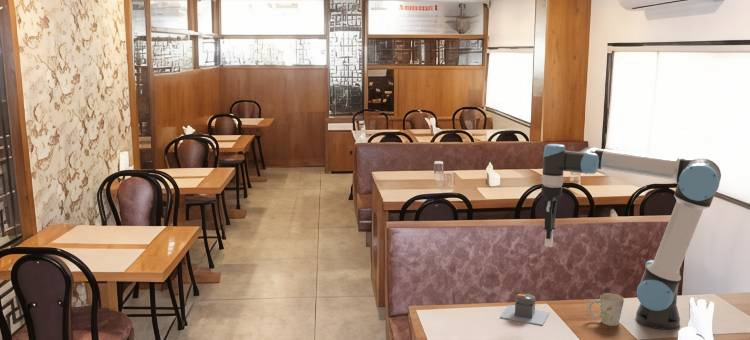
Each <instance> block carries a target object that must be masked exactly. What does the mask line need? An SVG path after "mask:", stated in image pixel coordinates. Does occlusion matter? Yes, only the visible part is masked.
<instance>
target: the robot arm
mask: <svg viewBox="0 0 750 340" xmlns="http://www.w3.org/2000/svg"><path fill="white" fill-rule="evenodd" d="M542 159H543V160H542V175H540V179H542V180H541V184H542V185H541V192H540V194H541V196H543V197H545V198H546V199H545V200H544V208H543V209H544V227H543V231H545V232H544V233H545V234H544V247H545V248H546V247H547V248H553V242H554V230H556V227H555V224H556V223H555V222H556V213H557V205H558V200H557V198H561V197H562V196H563V185H564V184H563V183H564V172H571V173H581V174H585V175H587V174H591V175H593V174H594V175H595V174H596V173H597V172H598V170H604V171H610V172H611V171H612V172H617V173H625V174H630V175H638V176H645V177H650V178H651V177H653V178H658V179H664V180H665V179H666V180H672V181H673V182H675V184H677V186H676V189H675V191H674V194H673V196H674V198H675V200H676V202H675V204H674V206H673V209H672V213H671V214H670V218H669V220H668V223H667V226H666V228H665V230H664V233H663V235H662V237H661V241H660V243H659V246H658V249H657V251H656V254H655V256H654V259H650V260H647V261H646V262H645V266H644V269H645V270H644V271H643V272H644V273H643V275H642V278H641V281H640V282H639V284H638V286H637V287H636V297H637V300H638V301H639V302H640V303H639V306H638V308H637V309H636V312H635V313H636V314H635V319H636V321H637V322H638V323H640V324H642V325H643V326H646V327H647V326H648V327H650V328H653V329H654V328H655V329H659V330H660V329H661V330H671V329H672V328H673V329H677V328H678V327H680V323H681V317H680V313H679V310H678V305H677V300H678V291H679V285H680V281H681V280H682V277H681V272H680V271H681V270H680V269H681V267H682V264H683V261H684V260H685V256H686V253H687V252H688V249H689V246H690V243H691V241H692V239H693V236H694V235H695V231H696V229H697V226H698V224H699V221H700V218H701V216H702V214H703V212H704V210H706V209H708V208H710V207H711V206H712V205H711V204H712V202H713V200H714V197H715V195H716V192H717V191H718V190H719V187H720V182H721V179H722V172H721V169H720V167H719V166H718V165H717V163H715V162H714V161H713V160H710V159H707V158H704V157H703V158H702V157H688V156H687V157H686V156H679V157H678V158H671V157H665V156H657V155H650V154H643V153H641V154H640V153H635V152H634V153H633V152H625V151H617V150H610V149H602V148H598V147H596V146H586V147H584V148H582V149H581V150H579V151H573V150H571V151H570V150H566V146H565V145H564V144H562V143H561V144H560V143H548V144H546V145H545V146H544V150H543V156H542ZM676 327H677V328H676ZM673 329H672V330H673Z"/></svg>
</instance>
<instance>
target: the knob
mask: <svg viewBox="0 0 750 340" xmlns="http://www.w3.org/2000/svg"><path fill="white" fill-rule="evenodd" d="M514 306H515V316H517V317H523V318H529V319H532V317H533V315H534V313H535V310H536V296H535V295H532V294H531V293H519V294H518V293H517V294H516V295H515V305H514Z"/></svg>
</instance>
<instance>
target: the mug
mask: <svg viewBox="0 0 750 340" xmlns="http://www.w3.org/2000/svg"><path fill="white" fill-rule="evenodd" d="M624 301H625V299H624V297H623V296H622V295H621V294H617V293H609V292H608V293H607V292H606V293H602V294H600V296H599V299H593V300H591V301H589V302H588V304H587V310H586V311H587V312H588V314H589V315H590V316H592V317H594V318H601V319H600V320H601V323H602V324H603V325H605V326H606V325H607V326H610V327H616V326H618V325H620V319H621V315H622V310H623V306H624ZM594 304H599V305H600V314H595V313H594V312H593V311H592V306H593V305H594Z"/></svg>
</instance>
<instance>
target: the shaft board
mask: <svg viewBox="0 0 750 340" xmlns="http://www.w3.org/2000/svg"><path fill="white" fill-rule="evenodd" d="M549 315H550V311H544V310H539V309H535V313H534V315H533V317H532V319H529V318H523V317H517V316H515V305H510V304H508V305H507V306H506V308H505V309H504V311H502V314H500V316H499V318H500V319H503V318H504V320H508V321H509V320H510V321H516V322H519V323H520V322H521V323H526V324H532V325H537V326H544V324H545V323H546V320H547V319H548V317H549Z"/></svg>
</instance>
